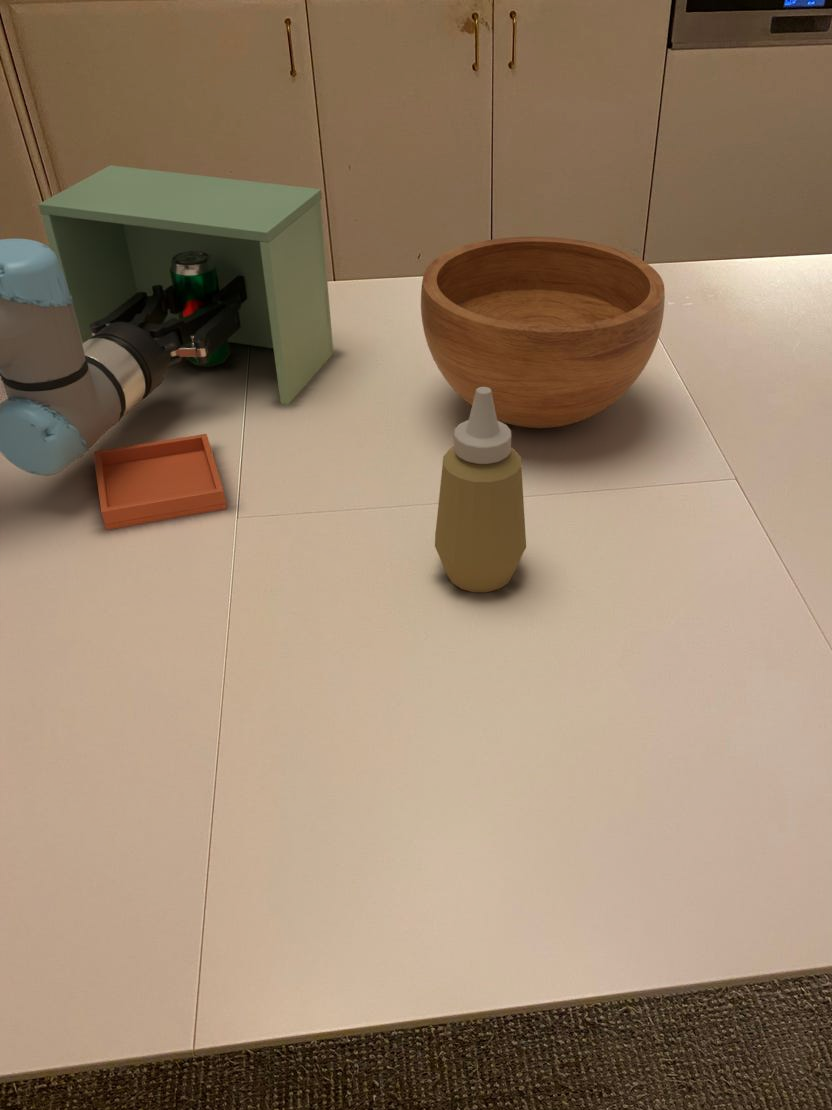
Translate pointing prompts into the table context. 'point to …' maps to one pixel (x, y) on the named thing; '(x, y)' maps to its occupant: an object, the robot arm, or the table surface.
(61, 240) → the cubby
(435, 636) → the table surface
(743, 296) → the table surface
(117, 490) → the tray
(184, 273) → the soda can
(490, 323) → the bowl
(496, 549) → the squeeze bottle
